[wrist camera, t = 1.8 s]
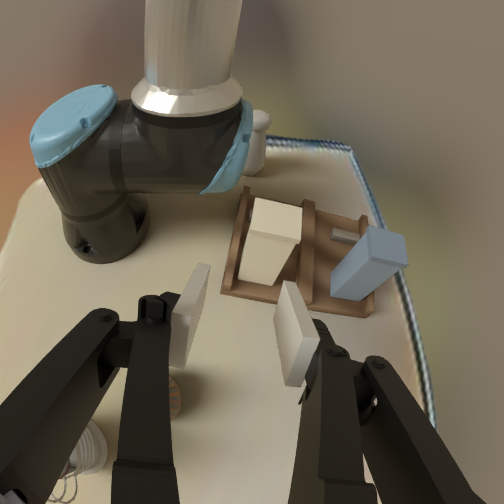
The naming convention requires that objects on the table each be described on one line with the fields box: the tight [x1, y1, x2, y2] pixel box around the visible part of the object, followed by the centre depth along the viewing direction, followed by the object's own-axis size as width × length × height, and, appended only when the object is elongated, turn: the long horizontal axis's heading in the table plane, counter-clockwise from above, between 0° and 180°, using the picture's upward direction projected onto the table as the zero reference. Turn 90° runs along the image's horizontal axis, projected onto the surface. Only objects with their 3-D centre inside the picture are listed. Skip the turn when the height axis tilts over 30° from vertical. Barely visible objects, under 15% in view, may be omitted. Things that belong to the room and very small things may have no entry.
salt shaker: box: [242, 110, 271, 176], centre depth 48 cm, size 6×6×13 cm
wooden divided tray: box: [220, 186, 375, 318], centre depth 45 cm, size 18×23×4 cm
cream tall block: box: [238, 198, 302, 286], centre depth 36 cm, size 4×5×13 cm
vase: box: [169, 377, 182, 421], centre depth 28 cm, size 7×7×9 cm
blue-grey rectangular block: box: [330, 225, 408, 301], centre depth 37 cm, size 4×5×13 cm
